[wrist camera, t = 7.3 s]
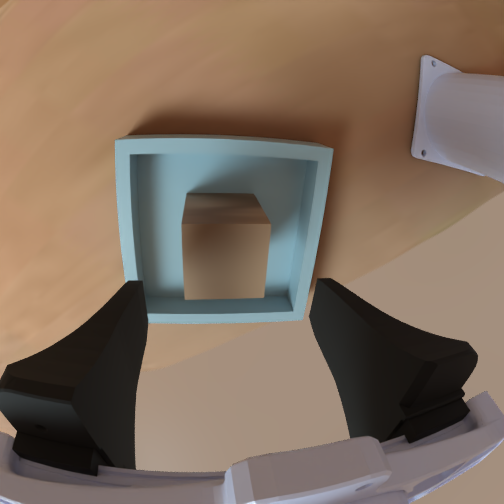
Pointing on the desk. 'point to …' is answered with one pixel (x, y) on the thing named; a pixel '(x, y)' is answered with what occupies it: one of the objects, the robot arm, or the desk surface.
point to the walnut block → (224, 246)
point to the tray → (219, 181)
